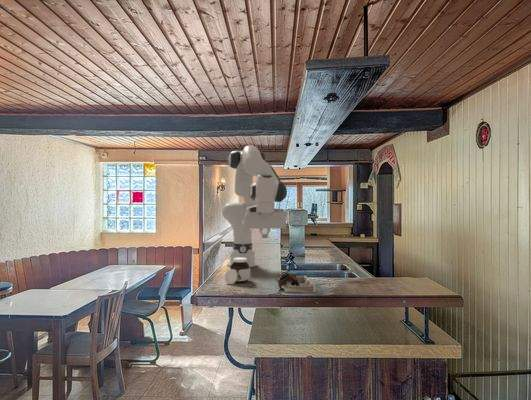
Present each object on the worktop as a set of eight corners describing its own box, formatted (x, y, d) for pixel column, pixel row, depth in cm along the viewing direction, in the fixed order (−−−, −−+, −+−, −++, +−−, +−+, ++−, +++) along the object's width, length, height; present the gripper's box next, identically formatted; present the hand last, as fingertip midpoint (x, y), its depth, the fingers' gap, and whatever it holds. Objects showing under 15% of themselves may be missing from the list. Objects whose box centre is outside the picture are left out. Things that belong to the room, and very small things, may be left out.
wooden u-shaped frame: (277, 281, 176) (277, 275, 176) (305, 281, 178) (306, 275, 178) (283, 292, 156) (283, 285, 156) (315, 291, 158) (316, 284, 158)
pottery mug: (299, 293, 156) (289, 278, 156) (281, 300, 160) (272, 285, 160) (305, 281, 167) (296, 266, 167) (288, 287, 171) (280, 273, 171)
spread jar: (251, 280, 179) (251, 257, 179) (247, 285, 168) (247, 261, 168) (227, 279, 180) (228, 256, 180) (223, 284, 169) (223, 260, 169)
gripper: (285, 208, 168) (285, 237, 169) (243, 208, 166) (243, 237, 167) (288, 209, 162) (287, 238, 162) (243, 208, 160) (243, 238, 160)
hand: (264, 237), depth 165 cm, fingers closed
